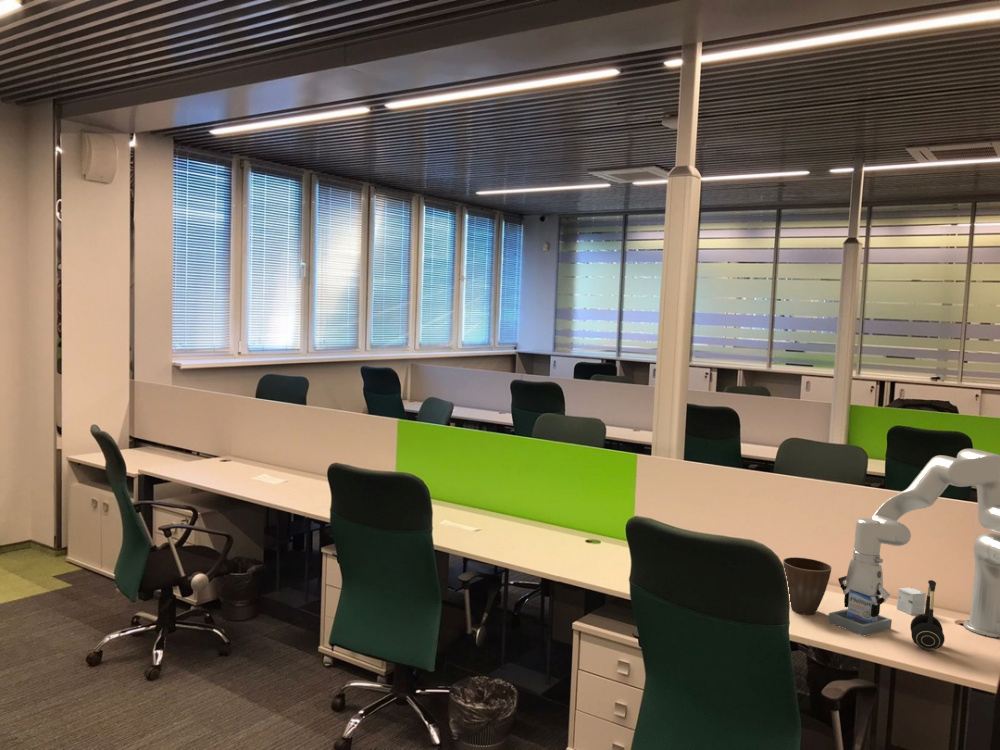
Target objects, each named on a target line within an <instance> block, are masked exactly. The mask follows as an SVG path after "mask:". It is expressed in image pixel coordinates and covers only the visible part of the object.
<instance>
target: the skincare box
mask: <svg viewBox="0 0 1000 750" xmlns="http://www.w3.org/2000/svg"><path fill="white" fill-rule="evenodd" d="M897 595H898V596H897V602H896V609H897V610H898V611H901V612H903V613H906V614H908V615H909V616H914V615H916V616H918V615H921V614H925V607H926V599H927V593H926V592H923V591H921V590H919V589H916V588H913V587H900V588H898V594H897Z"/></svg>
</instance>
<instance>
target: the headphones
mask: <svg viewBox="0 0 1000 750" xmlns="http://www.w3.org/2000/svg"><path fill="white" fill-rule="evenodd" d="M927 583H928V587H927V588H928V589H927V594H926V598H925V606H924V614H917V615H916V616H914V617H913V618H912V620H911V622H910V628H909V629H910V632H911V638H912V641H913V643H914V644H915V645H916V646H917V647H919V648H921V649H924V650H926V649H927V650H928V651H934V650H937V649H940V648H941V647H942V646H943V645H944V643H945V640H946V639H945V637H946V636H945V634H944V630H943V626H942V624H941V622H940V621H939V620H938V619H937V618H936V617H935V616H934V601H935V592H936V585H937V582H936V581H934V580H932V579H931V580H928V582H927Z"/></svg>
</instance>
